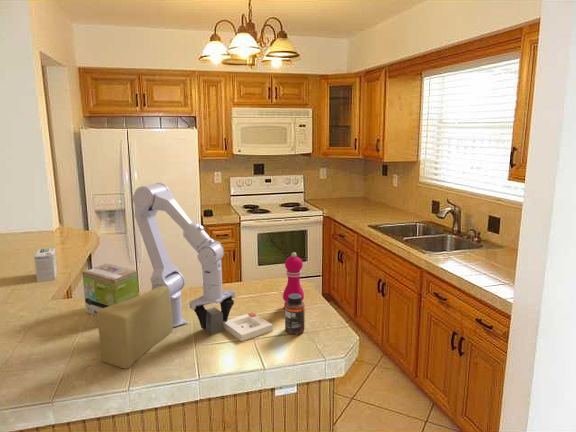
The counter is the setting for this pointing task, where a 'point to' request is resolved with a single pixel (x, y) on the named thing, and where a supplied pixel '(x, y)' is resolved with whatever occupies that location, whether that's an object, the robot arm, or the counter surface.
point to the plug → (214, 321)
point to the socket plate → (247, 326)
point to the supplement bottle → (294, 314)
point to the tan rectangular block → (134, 326)
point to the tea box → (108, 286)
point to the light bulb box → (45, 264)
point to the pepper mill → (293, 277)
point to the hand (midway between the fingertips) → (214, 324)
